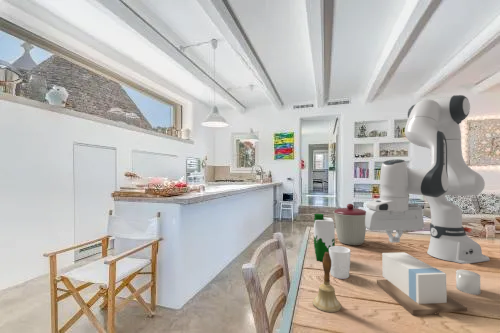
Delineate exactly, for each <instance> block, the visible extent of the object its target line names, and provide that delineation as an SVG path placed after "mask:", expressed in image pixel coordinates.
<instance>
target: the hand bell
mask: <svg viewBox="0 0 500 333" xmlns="http://www.w3.org/2000/svg"><path fill="white" fill-rule="evenodd" d="M322 268H323V273H324V274H323V283H321V284H320V285H319V286H318V293H317V294H316V297H314V299H313V300H312V304H313V306H314V307H315V308H316V309H317V310H320V311H322V312H326V313H335V312H336V313H337V312H339V311H340V310H341V309H342V304H341V302H340V301H339V300H338V298H337V296H336V290H335V287H334V285H332V284H330V280H331V279H330V275H331V273H330V270H331V258H330V254H329V252H325V254H324V257H323V261H322Z"/></svg>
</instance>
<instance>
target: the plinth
mask: <svg viewBox="0 0 500 333" xmlns="http://www.w3.org/2000/svg"><path fill="white" fill-rule="evenodd" d="M376 285H377V286H378V287H379V288H381V289H382V290H383V291H384V292H385V293H387V295H388V296H390V297H391V298H392V299H394V300H395V301H396V302H397V304H399V305H400V306H402V307H403V308H404V310H406V311H407V312H408V313H409V314H410V315H412V316H422V315H423V316H426V314H430V315H436V314H435V313H451V312H452V313H453V312H454V313H455V312H458V313H459V312H468V307H467V306H465V304H464V305H463V304H462V303H461V302H460V301H457V300H456V299H454V298H453V297H451V296H449V295H448V294H447V303H428V304H418V303H417V302H415V301H414V300H413V299H411V298H410V297H409V296H408V295H406V294H405V293H404V292H403V291H401V290H400V289H399V288H397V287H396V286H395V285H393V284H392V283H391V282H389V281H388V280H387V279H376Z"/></svg>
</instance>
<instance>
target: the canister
mask: <svg viewBox="0 0 500 333" xmlns="http://www.w3.org/2000/svg"><path fill="white" fill-rule="evenodd" d="M366 211H367V210H365V209H361V208H356V207H355V206H354V205H353V203H348V204H347V205H346V207H339V208H336V209H335V210H333V211H332V213H333V216H334V226H335V233H336V237H337V240H338V242H339V243H341V244H344V245H349V246H359V245H362V244H364V242H365V239H366V233H367V228H366V226H365V216H366Z"/></svg>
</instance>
